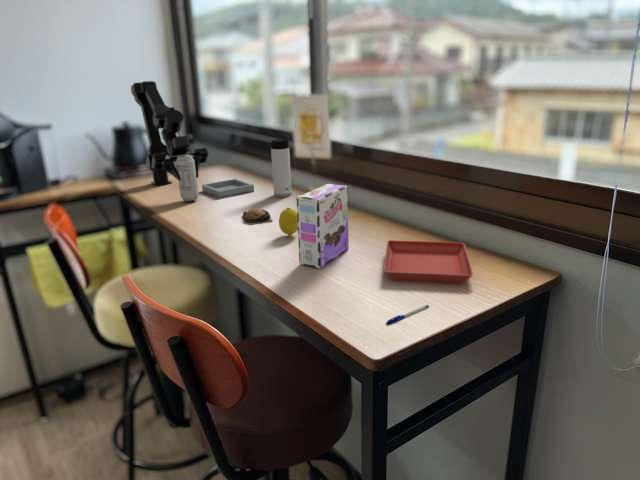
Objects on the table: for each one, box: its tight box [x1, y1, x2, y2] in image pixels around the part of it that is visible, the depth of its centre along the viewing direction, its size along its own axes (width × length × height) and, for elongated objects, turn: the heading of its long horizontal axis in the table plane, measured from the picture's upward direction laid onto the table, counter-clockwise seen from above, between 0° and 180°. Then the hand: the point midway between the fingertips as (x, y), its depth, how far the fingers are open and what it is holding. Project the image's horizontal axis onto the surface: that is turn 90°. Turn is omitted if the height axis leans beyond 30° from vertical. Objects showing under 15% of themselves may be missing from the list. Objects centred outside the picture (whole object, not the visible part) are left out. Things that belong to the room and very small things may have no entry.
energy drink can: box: [175, 155, 200, 202], centre depth 163 cm, size 6×6×15 cm
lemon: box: [278, 206, 298, 237], centre depth 128 cm, size 6×6×8 cm
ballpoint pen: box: [385, 305, 430, 326], centre depth 87 cm, size 10×1×1 cm, turn 127°
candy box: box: [296, 183, 350, 269], centre depth 111 cm, size 14×6×16 cm, turn 148°
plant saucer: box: [383, 240, 474, 284], centre depth 106 cm, size 18×18×3 cm
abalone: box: [241, 208, 273, 226], centre depth 144 cm, size 11×8×4 cm
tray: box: [201, 178, 255, 200], centre depth 176 cm, size 14×14×2 cm
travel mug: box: [270, 137, 293, 198], centre depth 166 cm, size 6×7×20 cm
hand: (188, 178), depth 162 cm, fingers closed on energy drink can, 6 cm apart
